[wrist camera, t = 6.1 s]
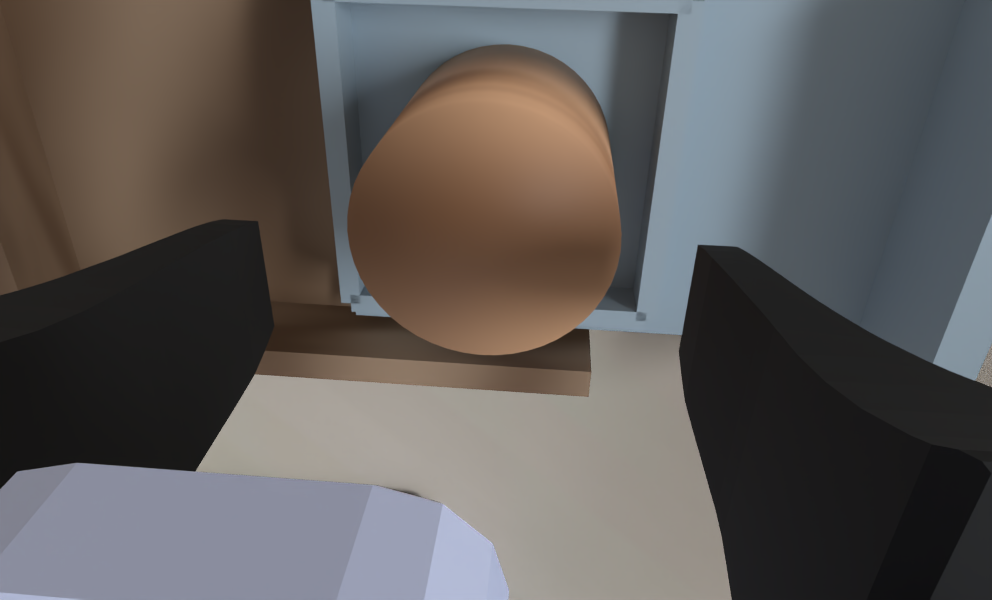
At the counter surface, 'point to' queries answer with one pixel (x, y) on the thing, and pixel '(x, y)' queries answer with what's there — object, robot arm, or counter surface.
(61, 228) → the caddy
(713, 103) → the tray
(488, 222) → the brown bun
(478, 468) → the counter surface
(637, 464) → the counter surface
